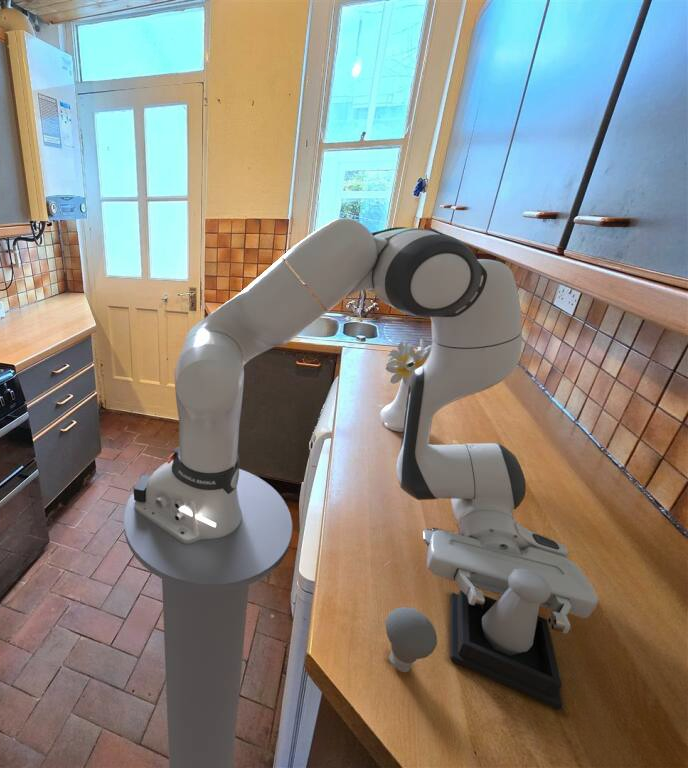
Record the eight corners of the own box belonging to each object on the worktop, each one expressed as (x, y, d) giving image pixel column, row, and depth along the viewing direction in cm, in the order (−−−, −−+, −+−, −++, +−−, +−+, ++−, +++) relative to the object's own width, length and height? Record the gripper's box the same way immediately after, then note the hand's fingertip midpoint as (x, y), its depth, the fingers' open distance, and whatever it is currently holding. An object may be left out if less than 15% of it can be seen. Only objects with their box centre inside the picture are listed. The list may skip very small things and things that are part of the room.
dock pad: (450, 660, 58) (457, 644, 56) (450, 596, 67) (456, 581, 66) (560, 710, 52) (570, 694, 51) (543, 632, 61) (552, 617, 60)
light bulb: (429, 664, 57) (448, 617, 53) (414, 697, 54) (434, 650, 49) (385, 634, 61) (399, 589, 57) (369, 664, 58) (383, 617, 53)
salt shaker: (529, 670, 56) (565, 606, 50) (478, 648, 58) (508, 585, 53) (522, 634, 60) (556, 572, 55) (476, 615, 63) (503, 554, 57)
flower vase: (367, 436, 112) (385, 351, 101) (377, 409, 126) (395, 332, 115) (420, 450, 105) (446, 361, 95) (425, 420, 119) (448, 339, 109)
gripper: (425, 511, 69) (436, 574, 58) (578, 548, 62) (625, 628, 50) (417, 539, 72) (425, 604, 61) (562, 577, 65) (603, 659, 53)
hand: (518, 615), depth 55 cm, fingers open, 8 cm apart
